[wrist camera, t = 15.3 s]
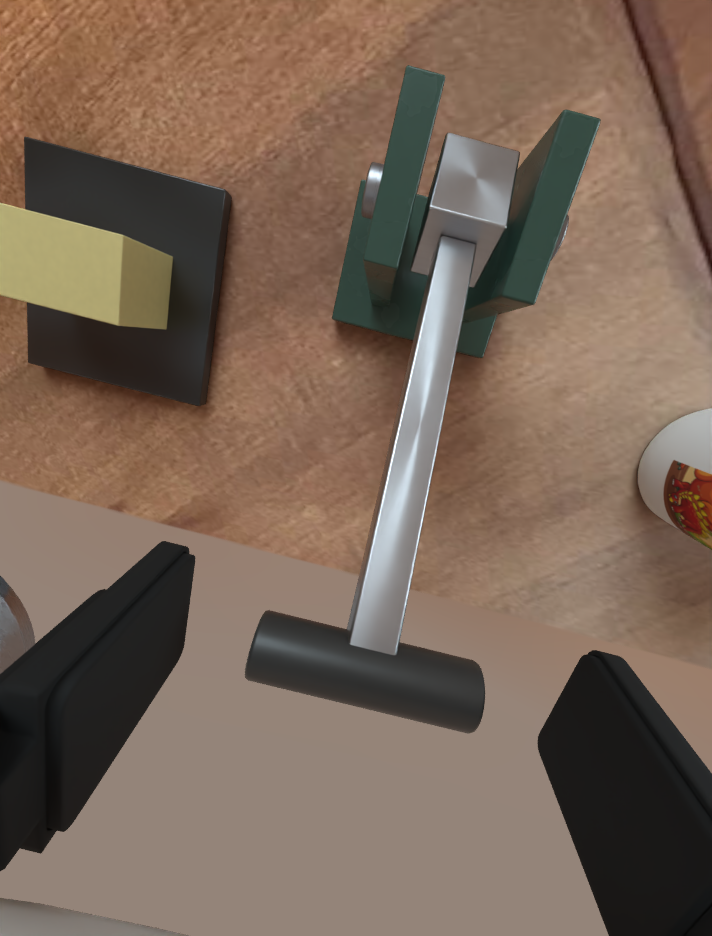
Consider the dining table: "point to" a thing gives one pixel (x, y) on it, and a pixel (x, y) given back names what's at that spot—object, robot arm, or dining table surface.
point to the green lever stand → (401, 212)
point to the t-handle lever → (407, 480)
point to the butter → (82, 270)
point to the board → (151, 223)
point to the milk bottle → (681, 475)
